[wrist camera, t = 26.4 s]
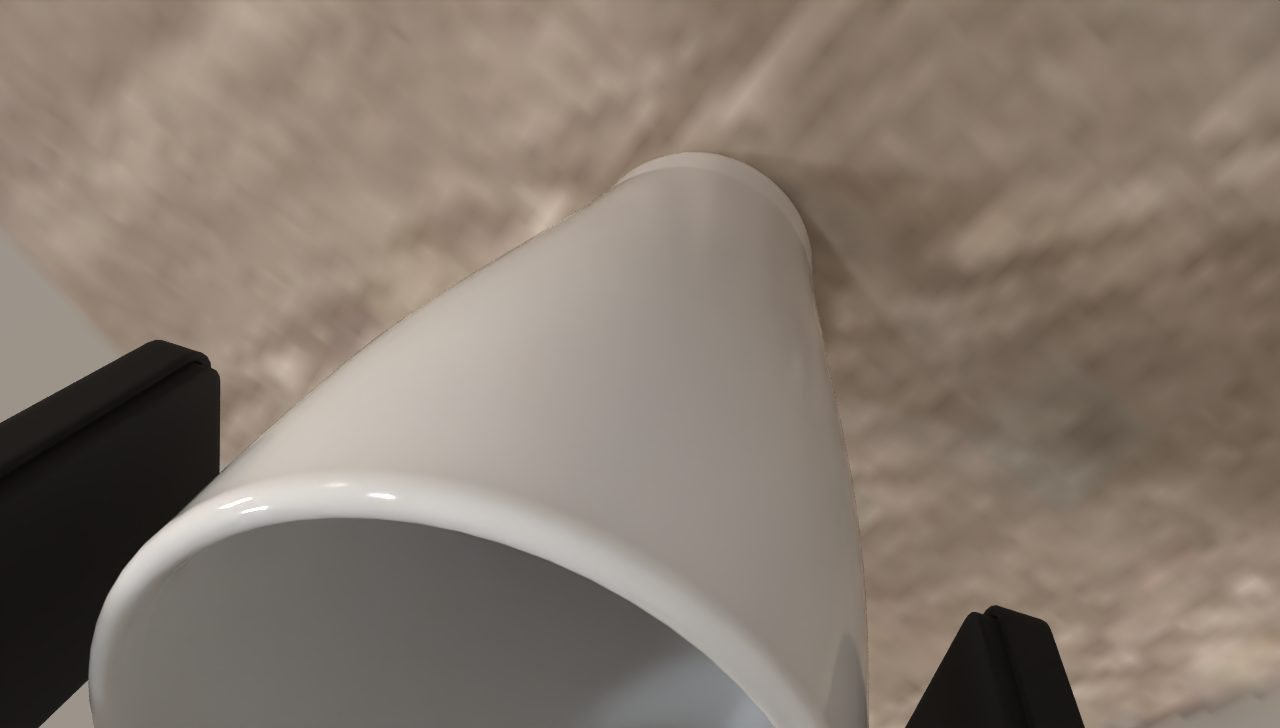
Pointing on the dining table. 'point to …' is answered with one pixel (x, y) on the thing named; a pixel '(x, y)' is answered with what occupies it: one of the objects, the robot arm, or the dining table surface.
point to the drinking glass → (535, 502)
